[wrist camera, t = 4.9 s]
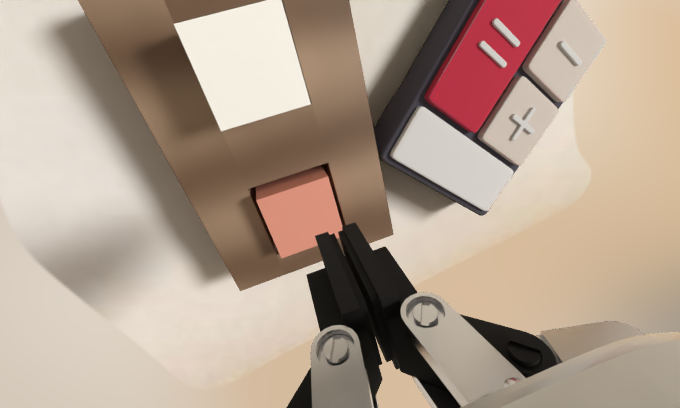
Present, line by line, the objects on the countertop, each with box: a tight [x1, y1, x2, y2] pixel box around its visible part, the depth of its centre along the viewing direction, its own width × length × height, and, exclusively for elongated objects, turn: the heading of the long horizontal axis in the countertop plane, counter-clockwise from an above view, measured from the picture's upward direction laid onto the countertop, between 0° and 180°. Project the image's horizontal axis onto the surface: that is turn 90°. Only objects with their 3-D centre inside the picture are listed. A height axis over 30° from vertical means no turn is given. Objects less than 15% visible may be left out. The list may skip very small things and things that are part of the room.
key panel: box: [78, 0, 393, 291], centre depth 19 cm, size 18×12×3 cm, turn 15°
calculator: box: [374, 0, 606, 216], centre depth 21 cm, size 11×4×15 cm
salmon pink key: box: [256, 165, 342, 259], centre depth 20 cm, size 4×4×4 cm
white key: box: [174, 0, 311, 131], centre depth 15 cm, size 4×4×4 cm
